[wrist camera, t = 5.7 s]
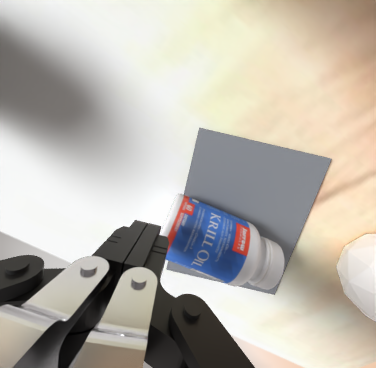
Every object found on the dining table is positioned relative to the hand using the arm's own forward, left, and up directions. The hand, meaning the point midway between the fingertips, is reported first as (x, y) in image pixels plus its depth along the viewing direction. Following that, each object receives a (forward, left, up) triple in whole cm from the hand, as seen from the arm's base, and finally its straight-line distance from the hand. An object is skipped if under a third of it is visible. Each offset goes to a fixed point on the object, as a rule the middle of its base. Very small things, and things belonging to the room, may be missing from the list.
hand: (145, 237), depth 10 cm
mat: (0, +7, -8) cm, 11 cm away
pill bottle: (+1, 0, -4) cm, 5 cm away
